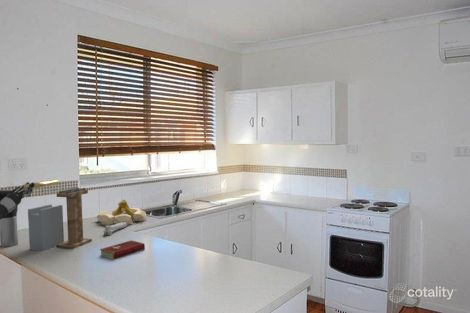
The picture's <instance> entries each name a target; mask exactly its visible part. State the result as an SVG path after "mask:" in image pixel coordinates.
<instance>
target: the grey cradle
mask: <svg viewBox="0 0 470 313" xmlns="http://www.w3.org/2000/svg"><path fill="white" fill-rule="evenodd" d="M63 207H64V206H63V204H62V205H61V204H57V205H55V206H53V204H51V203H50V204H45V205H41V206H37V207H32V208H28V209H27V218H28V219H27V221H28V240H29V241H28V242H29V250H30V251H31V250H32V251H41V252H43V251H47V250H50V249H52V248H55V247H57V244H60V243H63V242H65V237H64V236H65V233H64V213H63V212H64V210H63V209H64V208H63Z"/></svg>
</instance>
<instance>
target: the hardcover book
mask: <svg viewBox="0 0 470 313" xmlns="http://www.w3.org/2000/svg"><path fill="white" fill-rule="evenodd" d="M99 250H100V256H102V257H106V258H108V259H109V258H110V259H112V260H115V259H119V258H122V257H125V256H128V255H131V253H132V254H134V253H138V252H141V251H144V250H146V246H145V243H144V242H139V241H135V240H131V239H130V240H128V241H124V242H120V243H117V244H113V245H110V246H107V247H103V248H99ZM140 250H141V251H140ZM137 251H138V252H137Z"/></svg>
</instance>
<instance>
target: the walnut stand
mask: <svg viewBox="0 0 470 313" xmlns="http://www.w3.org/2000/svg"><path fill="white" fill-rule="evenodd" d="M55 194H56V197H57V198H65V201H66V217H67V218H66V220H67V223H66V224H67V240H64V242H63V243H60V244H57V246H56V248H62V249H72V250H74V249H76V248H79V247H81V246H84V245H86V244H88V243H91V242H93V239H92V238H85V237H84V225H83V220H84V219H83V201H82V200H83V199H82V198H83V197H82V196H83V195H86V194H89V190H88V189H86V187H82V188H80V187H75V188H69V189H65V190H60V191H58V192H57V193H55Z"/></svg>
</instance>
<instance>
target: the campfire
mask: <svg viewBox="0 0 470 313" xmlns="http://www.w3.org/2000/svg"><path fill="white" fill-rule="evenodd" d="M117 205H118V206H117V207H116V208H115V209H113V210H112V211H110V210H109V211H107V210H101V211H100V212H98V214H97V216H96V218H97V220H98V222H99V223H100V224H102V225H103V226H111V225H115V224H118V223H121V222H126V223H127V226H129V225H131V224H133V220H134V221H135V222H136V223H138V222H143V221H145V219H146V218H147V213H146V211H144V210H141V209H140V208H139V207H131V208H130V207H129V204H128V202H127V200H125V199H122V200H121V201H119V202H118V203H117ZM111 212H112V213H111ZM114 223H115V224H114Z"/></svg>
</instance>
